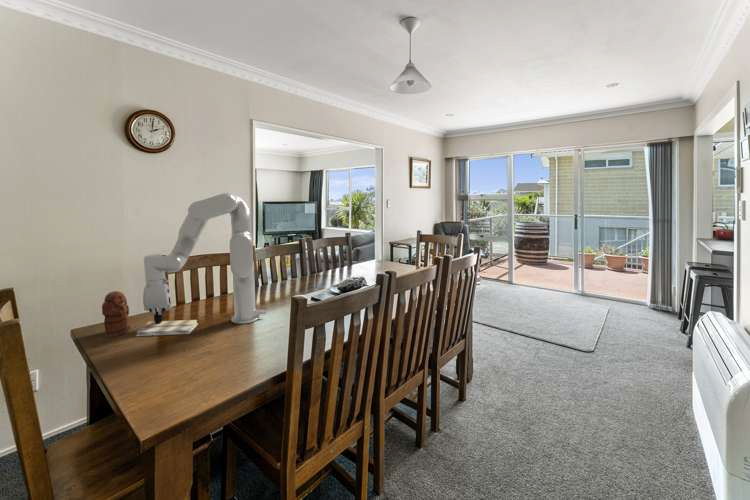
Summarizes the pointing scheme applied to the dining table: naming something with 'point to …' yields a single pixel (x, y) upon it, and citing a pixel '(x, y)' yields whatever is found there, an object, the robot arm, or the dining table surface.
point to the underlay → (171, 334)
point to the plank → (172, 323)
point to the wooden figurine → (115, 314)
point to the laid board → (164, 330)
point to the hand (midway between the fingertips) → (158, 322)
